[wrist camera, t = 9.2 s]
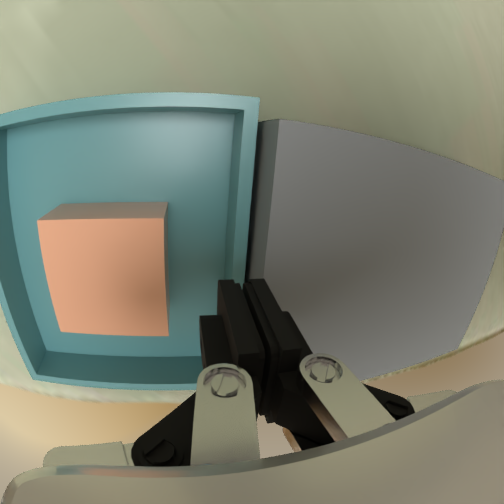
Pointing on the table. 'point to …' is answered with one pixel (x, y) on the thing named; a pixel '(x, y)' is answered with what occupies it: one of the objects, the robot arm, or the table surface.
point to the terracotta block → (108, 267)
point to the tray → (127, 190)
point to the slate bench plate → (370, 242)
